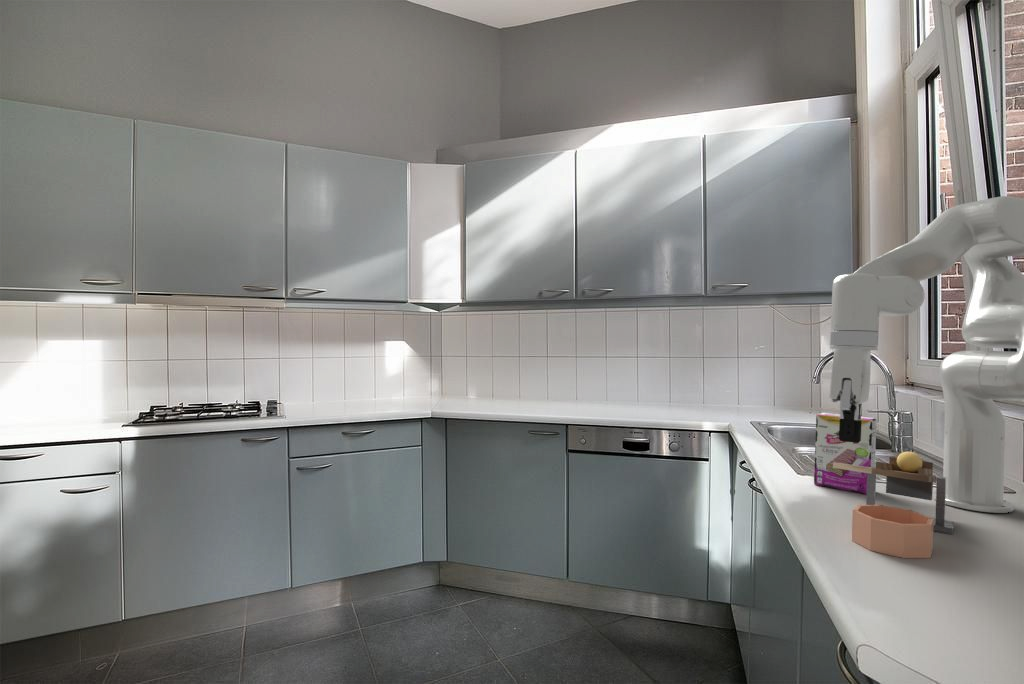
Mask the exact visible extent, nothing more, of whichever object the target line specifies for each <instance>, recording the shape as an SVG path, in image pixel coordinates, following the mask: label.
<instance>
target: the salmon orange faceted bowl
mask: <svg viewBox="0 0 1024 684" xmlns="http://www.w3.org/2000/svg"><path fill="white" fill-rule="evenodd" d="M933 518H934V517H930V516H927V515H925V514H921V513H920V512H917V511H915V510H912V509H907V508H900V507H894V506H888V505H885V504H875V505H866V504H857V505H856V506H855V507H854V508H853V509H852V526H851V528H852V529H851V531H852V532H851V541H852V542H854V543H855V544H858V545H860V546H861V547H863V548H865V549H867V550H869V551H870V552H874V553H876V552H877V553H880V554H883V555H889V556H893V557H898V558H902V559H931V557H932V554H933V550H934V531H933V520H934V519H933Z"/></svg>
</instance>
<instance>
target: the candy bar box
mask: <svg viewBox="0 0 1024 684" xmlns="http://www.w3.org/2000/svg"><path fill="white" fill-rule="evenodd" d="M815 417H816V418H815V443H814V445H815V446H814V447H815V448H814V449H815V450H814V470H813V471H814V472H813V473H814V475H813V480H814V481H813V485H816V486H819V487H820V486H821V487H822V486H823V487H827V488H832V489H836V490H842V491H849V492H854V493H858V494H864V495H867V473H864V472H857V471H851V470H844V469H837V468H833V462H835V463H843V464H850V465H857V466H864V467H876V447H877V418H875V417H867V416H861V420H862V424H861V441H860V442H858V443H854V442H846V441H840V440H839V426H840V414H839V413H831V412H819V413H817V414H816V416H815Z"/></svg>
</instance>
